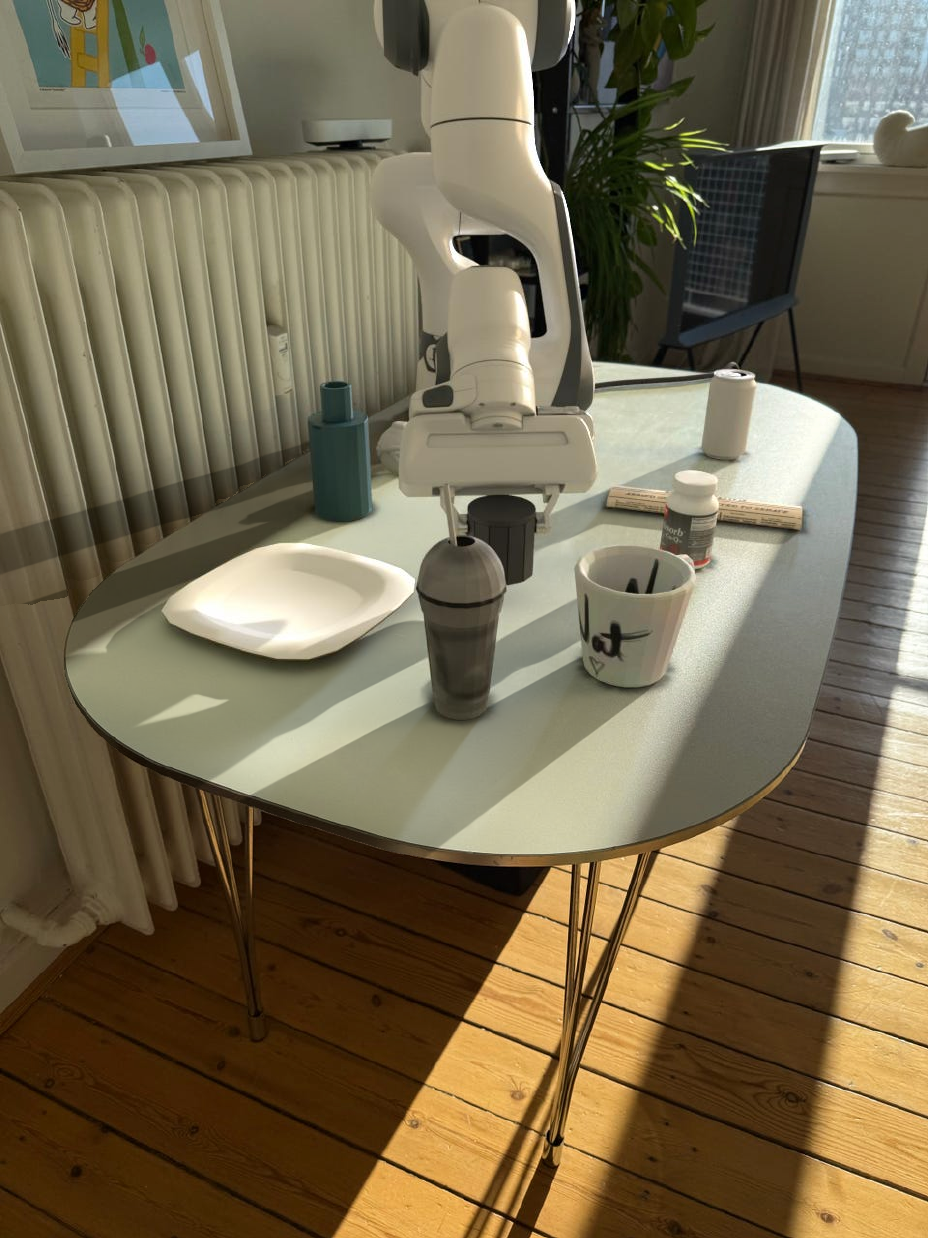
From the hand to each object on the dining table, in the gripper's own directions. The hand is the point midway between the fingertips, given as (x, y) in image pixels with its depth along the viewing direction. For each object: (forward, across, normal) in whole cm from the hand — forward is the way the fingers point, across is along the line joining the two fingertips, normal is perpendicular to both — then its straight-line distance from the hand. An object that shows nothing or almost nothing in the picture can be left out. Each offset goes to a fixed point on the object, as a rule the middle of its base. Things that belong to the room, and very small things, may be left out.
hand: (501, 532), depth 90 cm
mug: (+14, -12, +3) cm, 19 cm away
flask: (-12, +17, -23) cm, 31 cm away
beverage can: (-24, -38, -36) cm, 58 cm away
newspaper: (-10, -28, -21) cm, 37 cm away
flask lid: (+3, 0, -4) cm, 5 cm away
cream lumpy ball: (-21, +10, -33) cm, 41 cm away
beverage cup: (+19, +5, +8) cm, 21 cm away
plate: (+6, +21, -5) cm, 23 cm away
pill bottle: (0, -22, -11) cm, 25 cm away
